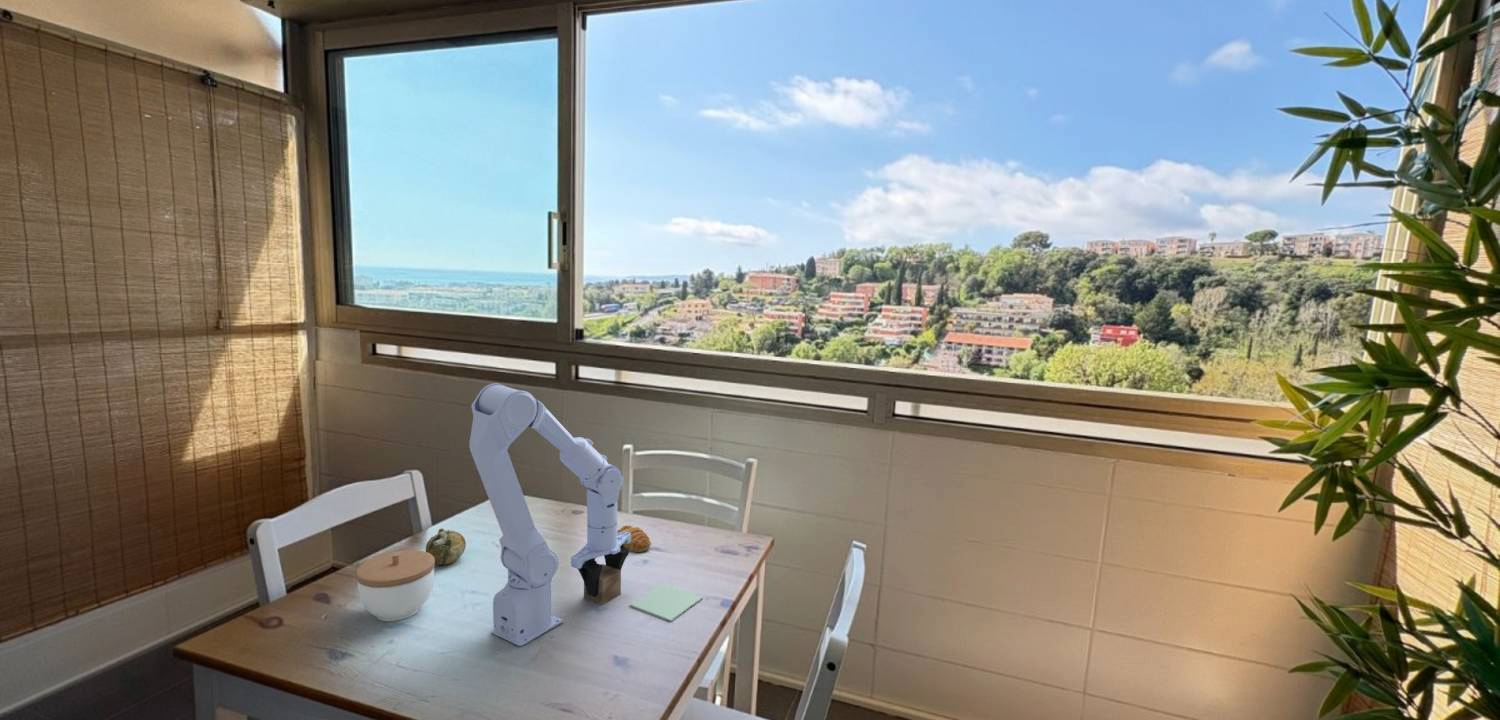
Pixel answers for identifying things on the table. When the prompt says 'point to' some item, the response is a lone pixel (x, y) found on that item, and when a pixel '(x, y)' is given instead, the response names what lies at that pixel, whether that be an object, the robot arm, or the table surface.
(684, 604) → the green pad
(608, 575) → the walnut cube
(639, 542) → the pastry
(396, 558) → the lidded bowl
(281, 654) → the table surface
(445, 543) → the green pumpkin
